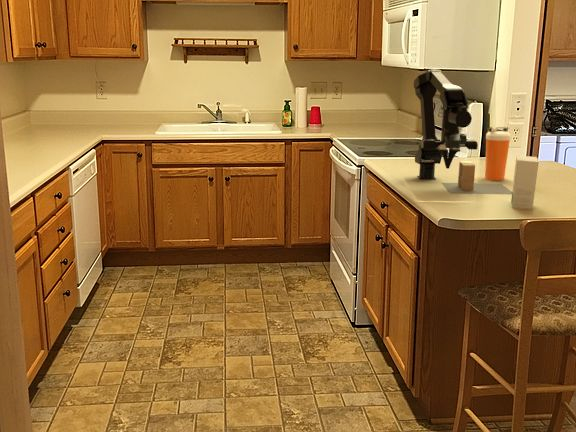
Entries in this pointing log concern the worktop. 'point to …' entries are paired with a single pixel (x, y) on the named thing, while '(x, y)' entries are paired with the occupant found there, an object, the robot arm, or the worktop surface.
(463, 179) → the block
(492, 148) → the shaker bottle
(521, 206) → the skincare box
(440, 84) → the robot arm
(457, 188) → the mat
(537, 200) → the worktop surface
